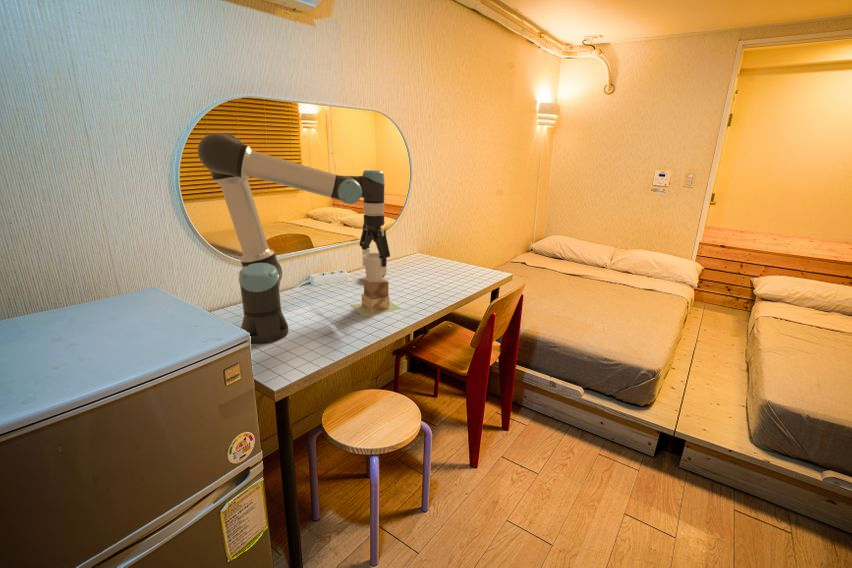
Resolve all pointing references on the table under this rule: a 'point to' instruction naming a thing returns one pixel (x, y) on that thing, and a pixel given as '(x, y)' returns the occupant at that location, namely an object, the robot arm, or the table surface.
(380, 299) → the oak block
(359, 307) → the build plate
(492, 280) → the table surface
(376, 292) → the walnut block
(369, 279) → the dixie cup
